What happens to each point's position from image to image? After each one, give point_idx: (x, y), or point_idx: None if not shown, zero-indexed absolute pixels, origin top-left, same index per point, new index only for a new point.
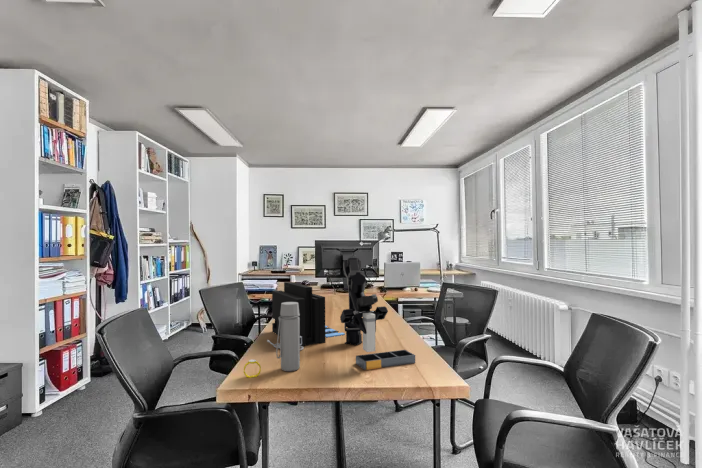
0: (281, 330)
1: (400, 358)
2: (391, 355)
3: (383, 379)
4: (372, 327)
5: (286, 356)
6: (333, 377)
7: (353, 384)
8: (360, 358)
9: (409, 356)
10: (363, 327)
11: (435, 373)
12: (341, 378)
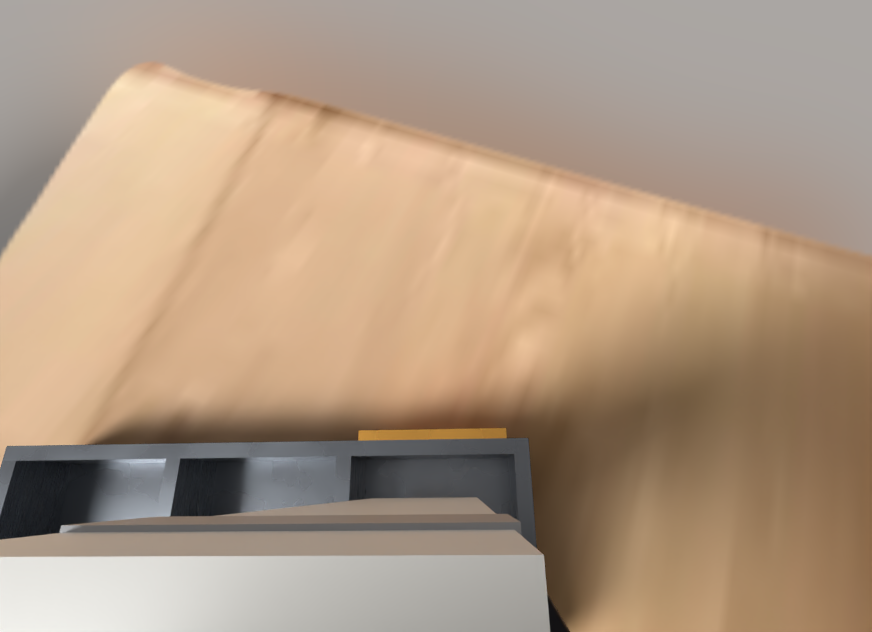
0: None
1: (164, 445)
2: None
3: (449, 256)
4: (331, 512)
5: None
6: (786, 408)
7: (662, 243)
8: None
9: (70, 445)
10: (556, 628)
11: (104, 242)
12: (725, 367)
